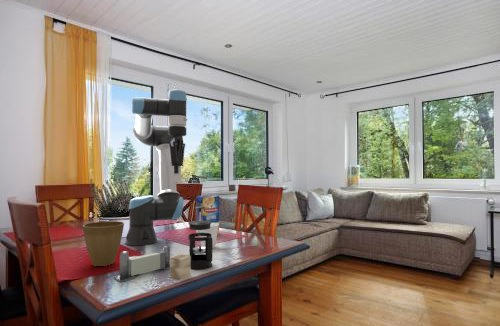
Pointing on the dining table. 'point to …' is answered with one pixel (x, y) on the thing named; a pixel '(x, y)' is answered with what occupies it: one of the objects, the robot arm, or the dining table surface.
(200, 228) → the french press
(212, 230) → the cup
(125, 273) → the metal knob post
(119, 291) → the dining table surface
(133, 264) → the gate
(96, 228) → the plant pot
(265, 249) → the dining table surface
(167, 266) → the post
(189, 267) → the block
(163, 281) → the dining table surface
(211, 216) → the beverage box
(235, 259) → the dining table surface
